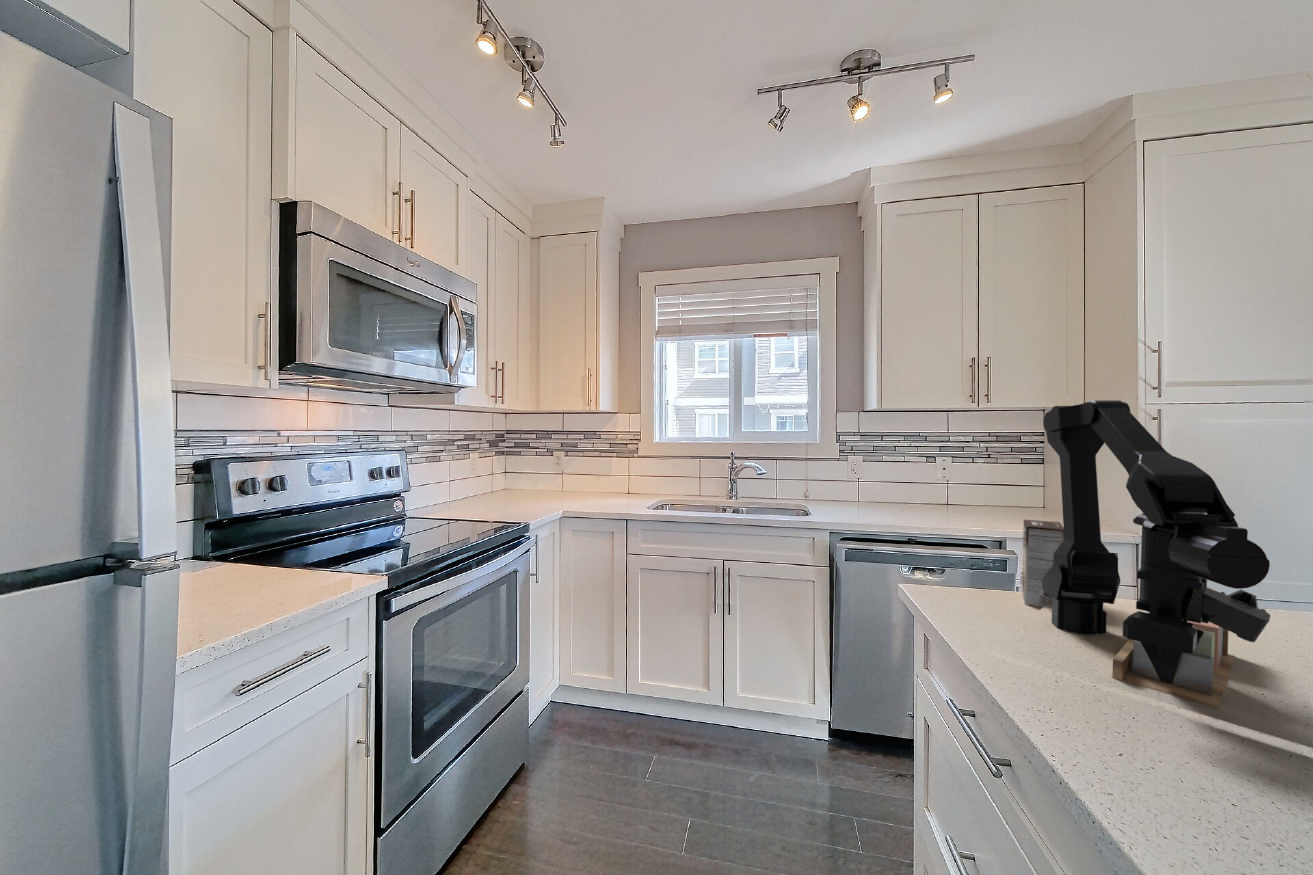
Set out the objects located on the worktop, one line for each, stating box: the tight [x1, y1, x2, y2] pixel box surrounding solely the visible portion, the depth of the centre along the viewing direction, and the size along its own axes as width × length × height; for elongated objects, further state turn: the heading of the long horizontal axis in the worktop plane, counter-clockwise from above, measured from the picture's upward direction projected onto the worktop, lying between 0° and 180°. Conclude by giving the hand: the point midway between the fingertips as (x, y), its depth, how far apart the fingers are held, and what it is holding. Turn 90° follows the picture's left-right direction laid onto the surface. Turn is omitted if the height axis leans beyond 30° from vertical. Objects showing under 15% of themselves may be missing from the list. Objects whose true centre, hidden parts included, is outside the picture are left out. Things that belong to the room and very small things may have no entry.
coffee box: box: [1021, 519, 1064, 608], centre depth 105 cm, size 9×6×16 cm
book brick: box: [1188, 621, 1221, 670], centre depth 77 cm, size 4×7×6 cm, turn 39°
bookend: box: [1132, 640, 1214, 695], centre depth 70 cm, size 2×8×4 cm, turn 39°
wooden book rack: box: [1112, 628, 1235, 709], centre depth 75 cm, size 24×10×6 cm, turn 129°
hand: (1166, 682), depth 68 cm, fingers closed
